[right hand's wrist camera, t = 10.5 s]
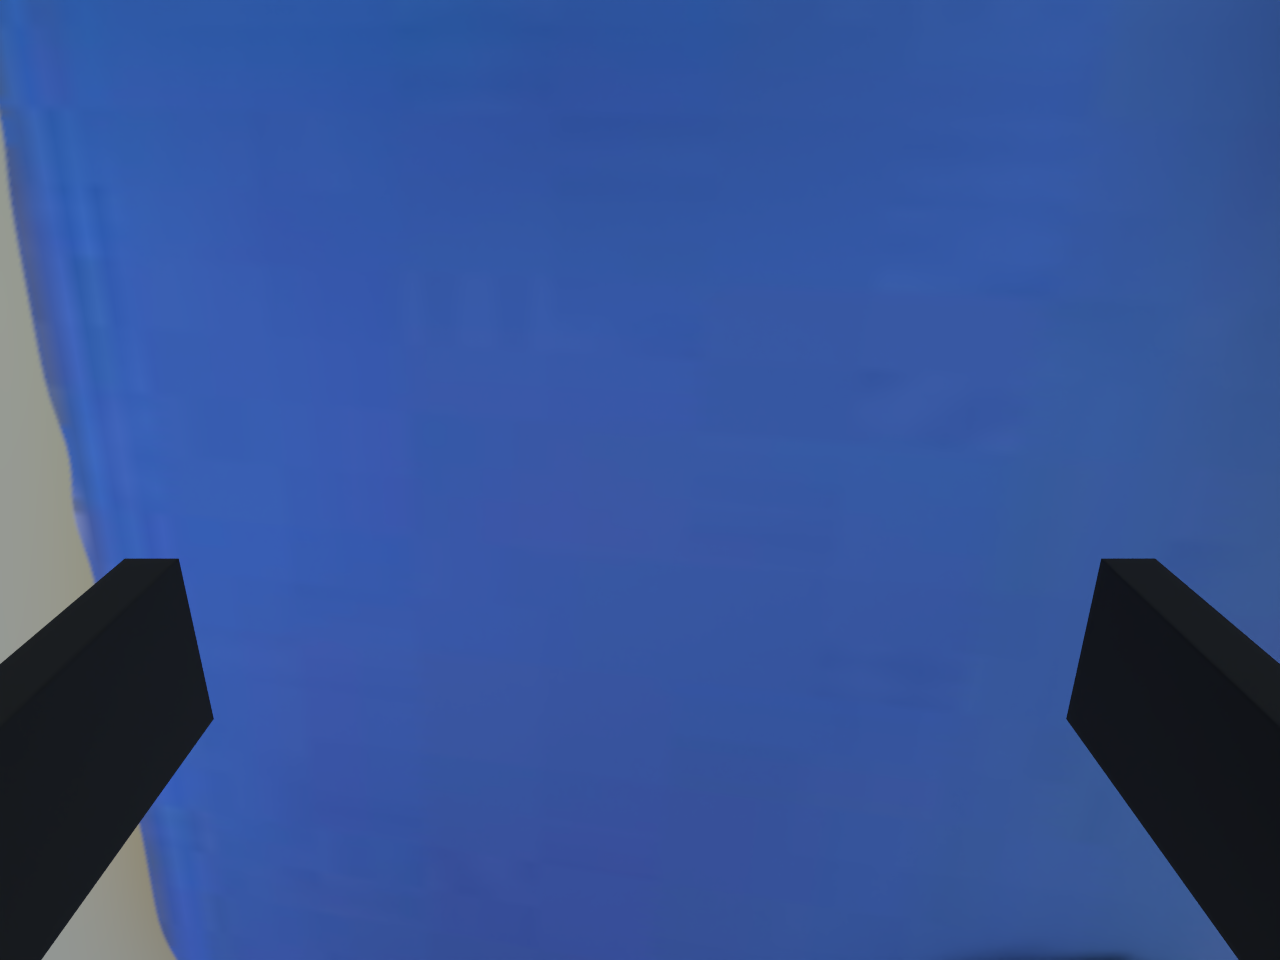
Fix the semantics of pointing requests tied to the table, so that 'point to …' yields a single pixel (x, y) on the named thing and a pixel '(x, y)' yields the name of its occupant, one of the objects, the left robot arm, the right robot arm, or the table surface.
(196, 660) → the right robot arm
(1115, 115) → the table surface
